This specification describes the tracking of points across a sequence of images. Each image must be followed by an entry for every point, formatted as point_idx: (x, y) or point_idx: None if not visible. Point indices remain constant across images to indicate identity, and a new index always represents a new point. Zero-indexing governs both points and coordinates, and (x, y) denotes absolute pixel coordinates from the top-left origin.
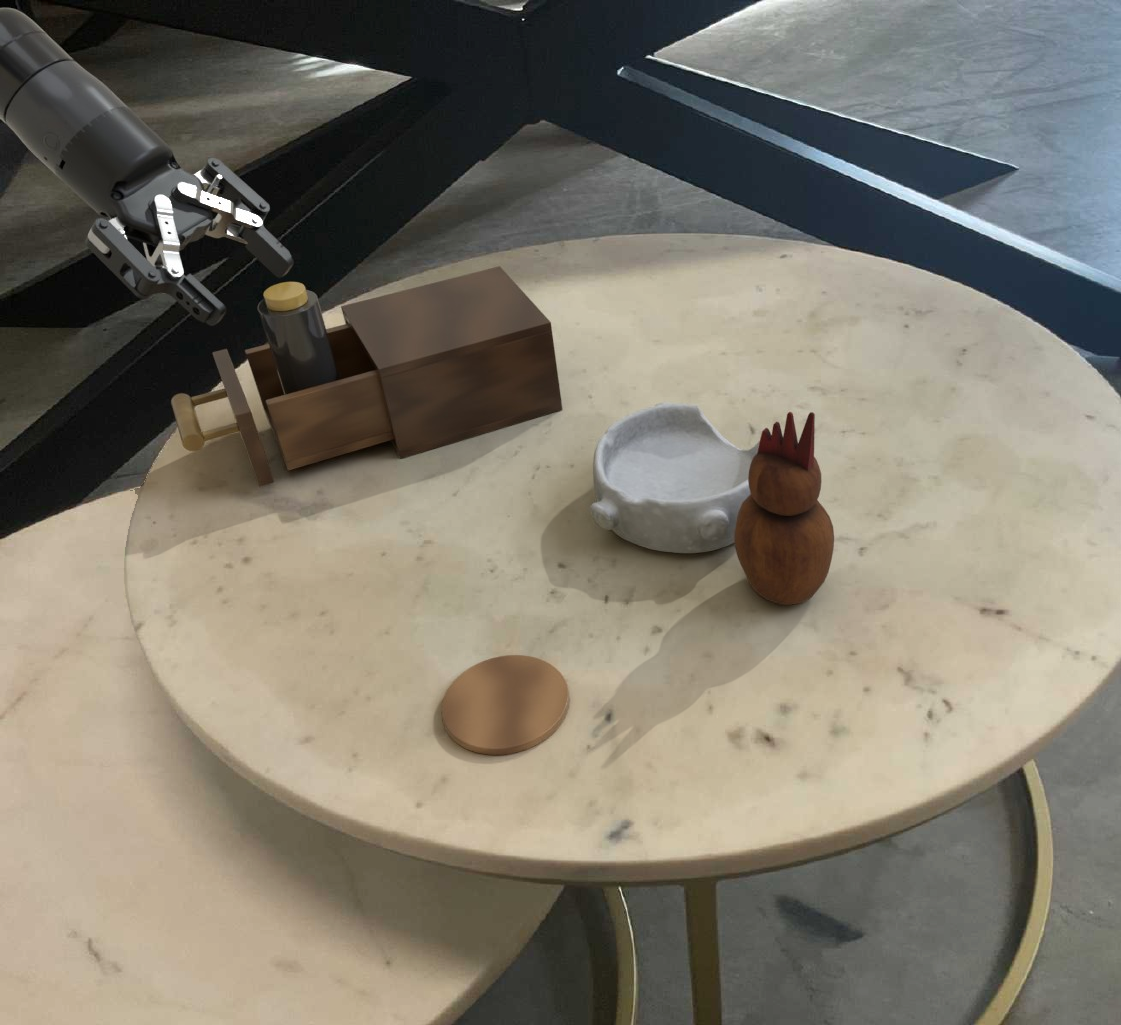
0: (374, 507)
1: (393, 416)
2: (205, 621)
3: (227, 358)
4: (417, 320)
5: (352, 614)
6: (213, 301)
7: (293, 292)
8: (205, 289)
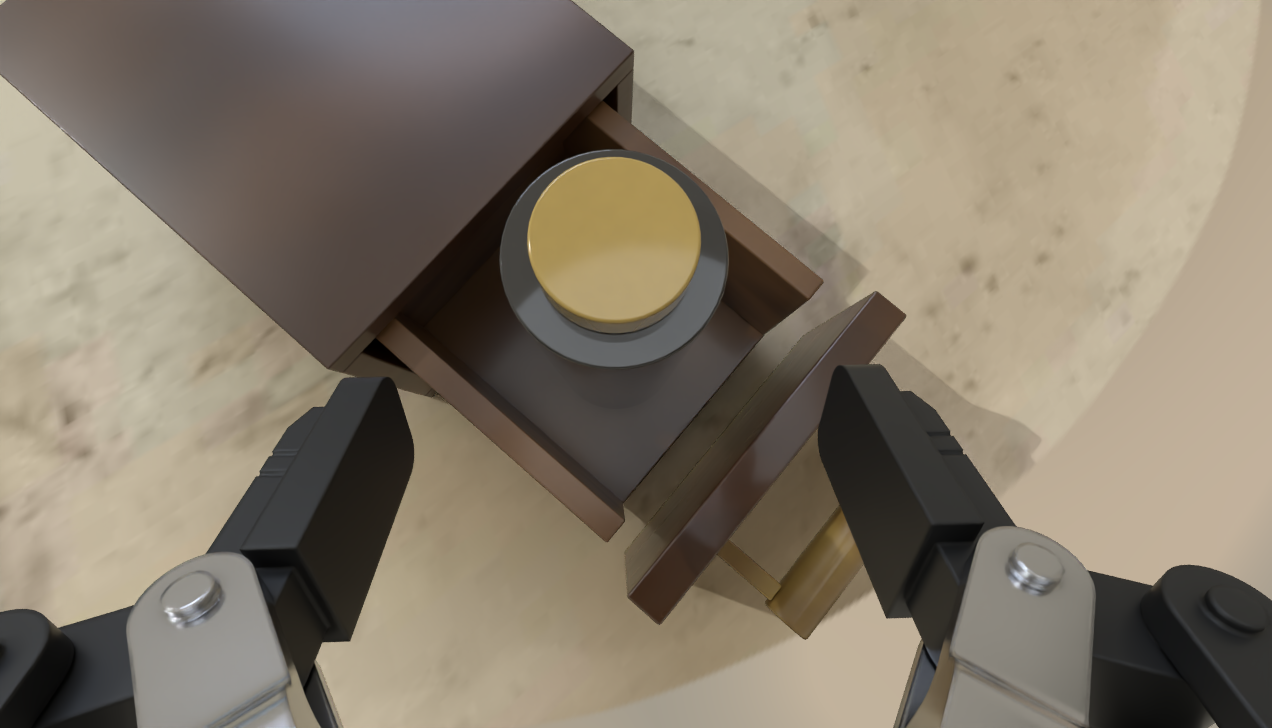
0: (769, 148)
1: None
2: (1106, 230)
3: (675, 549)
4: (357, 94)
5: (996, 37)
6: (888, 388)
7: (615, 190)
8: (889, 438)
